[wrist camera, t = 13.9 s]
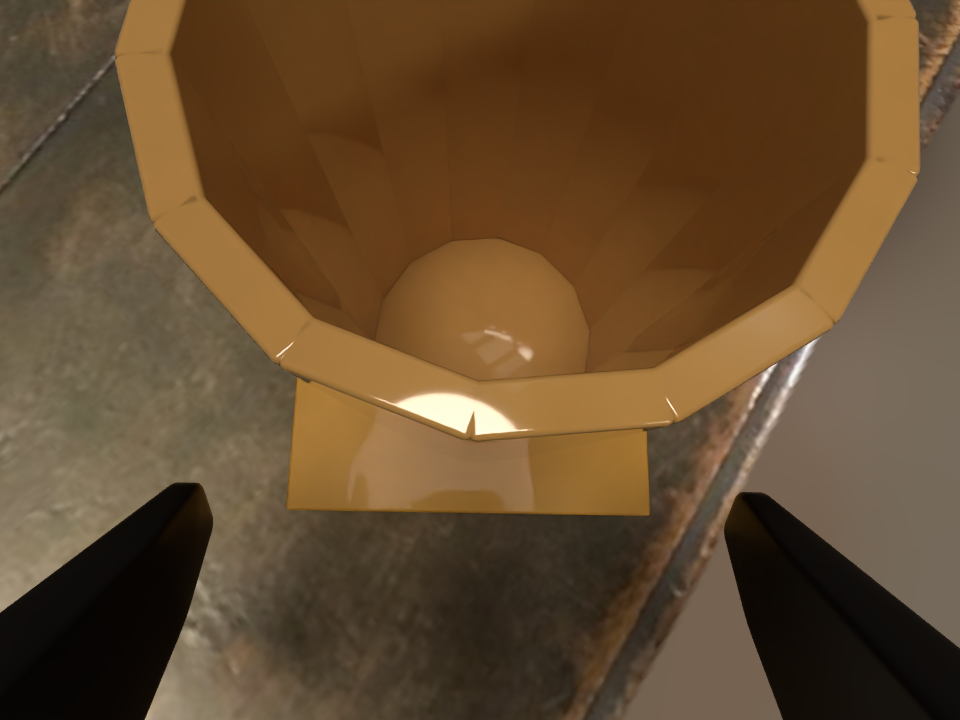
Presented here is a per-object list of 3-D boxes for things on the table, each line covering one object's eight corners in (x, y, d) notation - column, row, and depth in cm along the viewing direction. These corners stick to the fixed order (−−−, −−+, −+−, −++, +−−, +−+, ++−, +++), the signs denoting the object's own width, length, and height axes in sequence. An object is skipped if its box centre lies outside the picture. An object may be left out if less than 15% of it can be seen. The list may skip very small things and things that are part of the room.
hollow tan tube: (554, 499, 17) (822, 580, 4) (324, 408, 17) (-50, 239, 5) (629, 282, 19) (997, -132, 6) (416, 202, 19) (319, -358, 6)
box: (608, 506, 22) (650, 516, 17) (325, 501, 22) (285, 510, 17) (602, 241, 24) (637, 182, 19) (343, 233, 24) (313, 172, 19)
